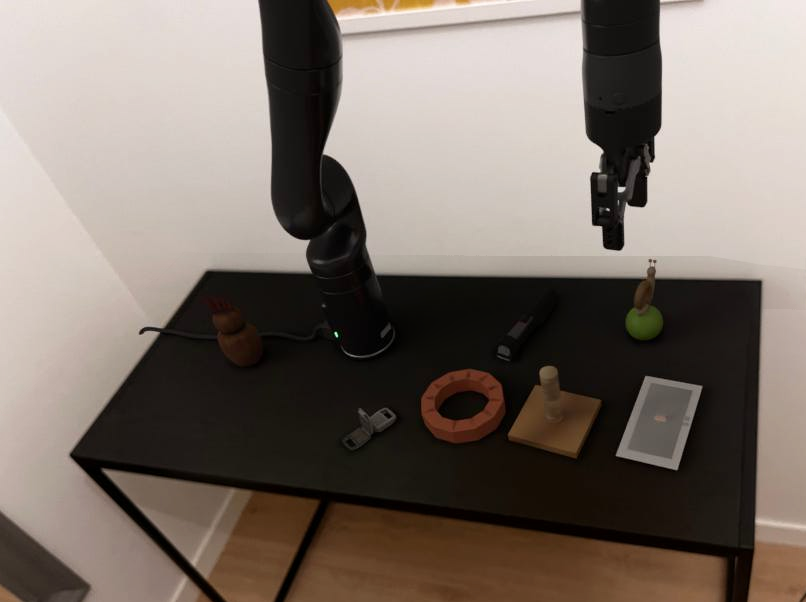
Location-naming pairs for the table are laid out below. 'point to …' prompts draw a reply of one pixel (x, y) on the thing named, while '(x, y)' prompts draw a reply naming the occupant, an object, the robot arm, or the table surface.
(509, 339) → the electric trimmer
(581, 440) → the stand
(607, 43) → the robot arm
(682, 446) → the touchpad
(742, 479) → the table surface
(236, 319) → the wooden figurine
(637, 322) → the snail figurine
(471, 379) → the ring
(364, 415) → the strap clip
